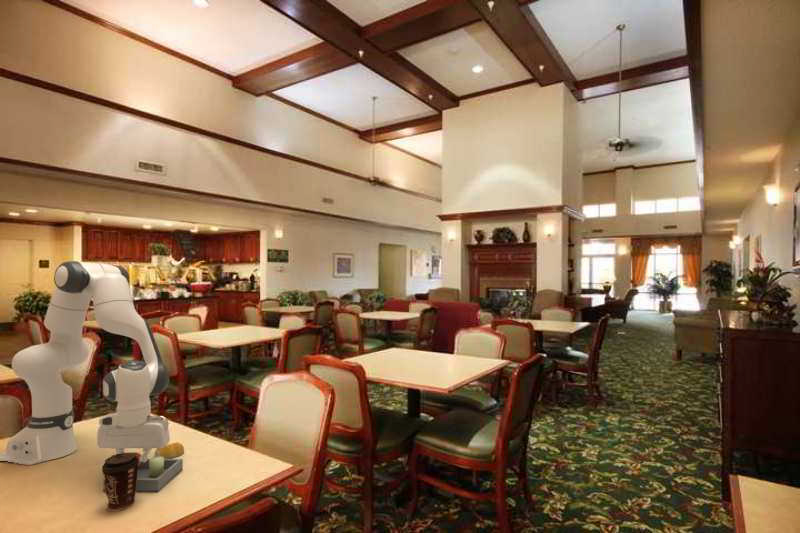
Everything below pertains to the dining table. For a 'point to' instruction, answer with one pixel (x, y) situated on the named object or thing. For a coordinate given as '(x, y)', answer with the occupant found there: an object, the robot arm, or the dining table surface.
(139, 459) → the red ball
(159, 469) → the pale green capsule
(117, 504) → the coffee cup
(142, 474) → the bin
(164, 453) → the bread roll
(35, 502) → the dining table surface
